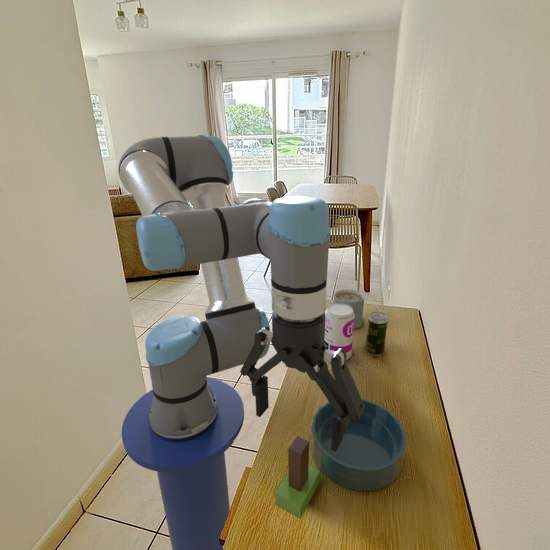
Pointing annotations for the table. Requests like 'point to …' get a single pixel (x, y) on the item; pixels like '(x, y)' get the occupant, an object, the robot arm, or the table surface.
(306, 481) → the sponge brush
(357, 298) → the coffee mug
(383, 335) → the beer can
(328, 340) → the supplement can
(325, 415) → the bowl
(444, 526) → the table surface
